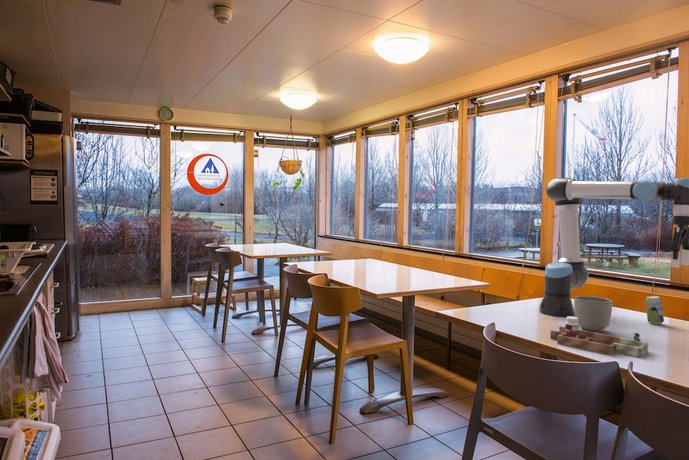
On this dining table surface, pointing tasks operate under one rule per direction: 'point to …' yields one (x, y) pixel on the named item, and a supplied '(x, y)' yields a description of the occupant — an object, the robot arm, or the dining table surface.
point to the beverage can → (654, 310)
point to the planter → (592, 312)
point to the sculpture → (636, 337)
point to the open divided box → (616, 342)
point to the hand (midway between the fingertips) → (679, 266)
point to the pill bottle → (572, 327)
